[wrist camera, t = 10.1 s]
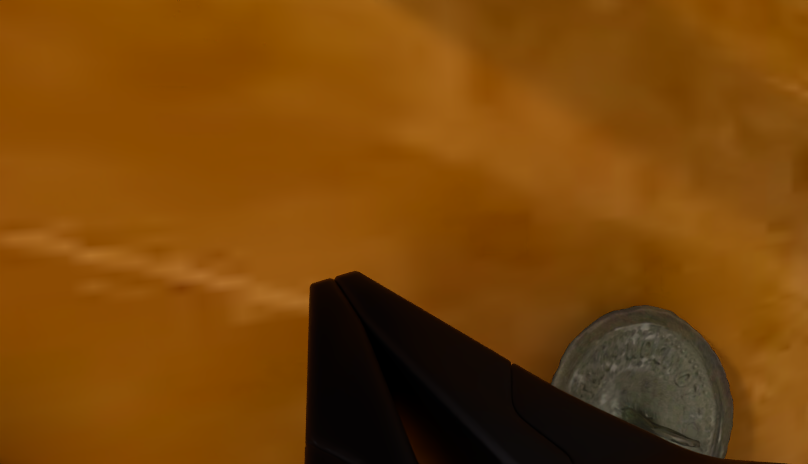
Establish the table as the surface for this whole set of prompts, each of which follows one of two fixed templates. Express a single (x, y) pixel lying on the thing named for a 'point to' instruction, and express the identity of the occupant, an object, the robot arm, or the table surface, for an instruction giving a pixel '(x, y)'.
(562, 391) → the robot arm
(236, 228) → the table surface
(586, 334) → the lid
